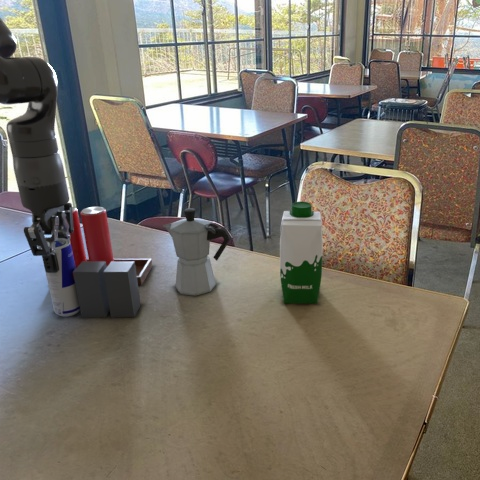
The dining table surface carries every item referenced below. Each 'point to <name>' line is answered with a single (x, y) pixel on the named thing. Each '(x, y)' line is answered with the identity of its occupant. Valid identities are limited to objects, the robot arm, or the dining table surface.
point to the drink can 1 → (77, 240)
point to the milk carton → (301, 254)
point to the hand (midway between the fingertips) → (59, 264)
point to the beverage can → (63, 281)
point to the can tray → (140, 268)
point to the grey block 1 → (91, 288)
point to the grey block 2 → (122, 288)
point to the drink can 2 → (97, 234)
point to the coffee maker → (195, 252)
